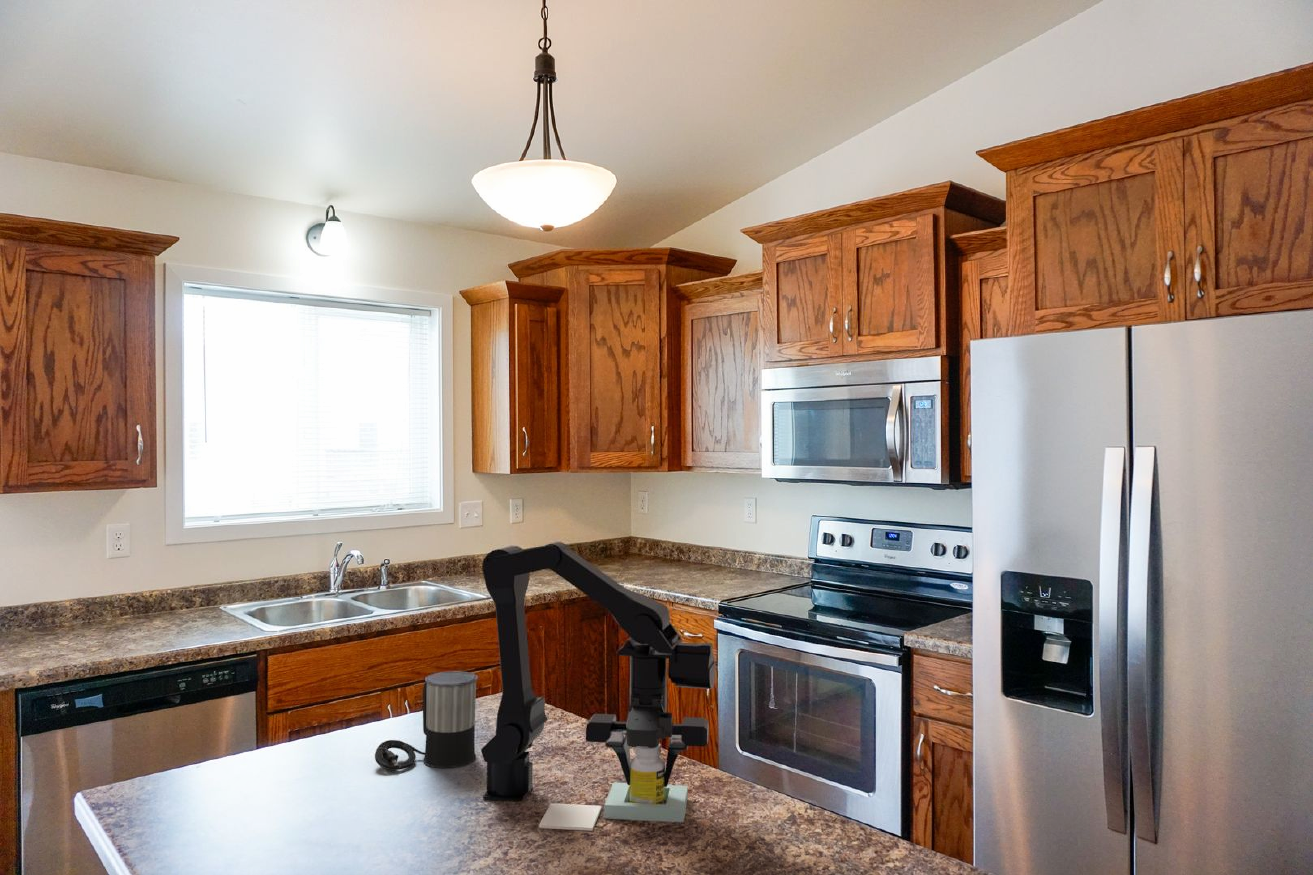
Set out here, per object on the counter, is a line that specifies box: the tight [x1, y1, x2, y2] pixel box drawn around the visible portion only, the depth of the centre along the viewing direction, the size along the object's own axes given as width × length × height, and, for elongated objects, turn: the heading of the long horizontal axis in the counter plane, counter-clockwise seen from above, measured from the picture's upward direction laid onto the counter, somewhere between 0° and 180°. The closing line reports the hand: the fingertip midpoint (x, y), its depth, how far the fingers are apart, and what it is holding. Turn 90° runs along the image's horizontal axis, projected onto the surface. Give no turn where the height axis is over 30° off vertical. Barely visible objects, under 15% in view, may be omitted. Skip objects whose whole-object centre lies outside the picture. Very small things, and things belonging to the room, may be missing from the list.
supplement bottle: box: [629, 743, 666, 805], centre depth 133 cm, size 5×5×10 cm
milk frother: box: [374, 670, 479, 771], centre depth 152 cm, size 14×16×15 cm
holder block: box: [603, 781, 689, 823], centre depth 133 cm, size 12×9×2 cm
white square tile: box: [538, 803, 603, 832], centre depth 129 cm, size 8×8×1 cm
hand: (647, 785), depth 133 cm, fingers closed on supplement bottle, 5 cm apart
